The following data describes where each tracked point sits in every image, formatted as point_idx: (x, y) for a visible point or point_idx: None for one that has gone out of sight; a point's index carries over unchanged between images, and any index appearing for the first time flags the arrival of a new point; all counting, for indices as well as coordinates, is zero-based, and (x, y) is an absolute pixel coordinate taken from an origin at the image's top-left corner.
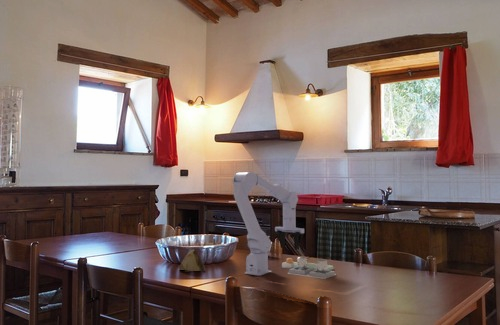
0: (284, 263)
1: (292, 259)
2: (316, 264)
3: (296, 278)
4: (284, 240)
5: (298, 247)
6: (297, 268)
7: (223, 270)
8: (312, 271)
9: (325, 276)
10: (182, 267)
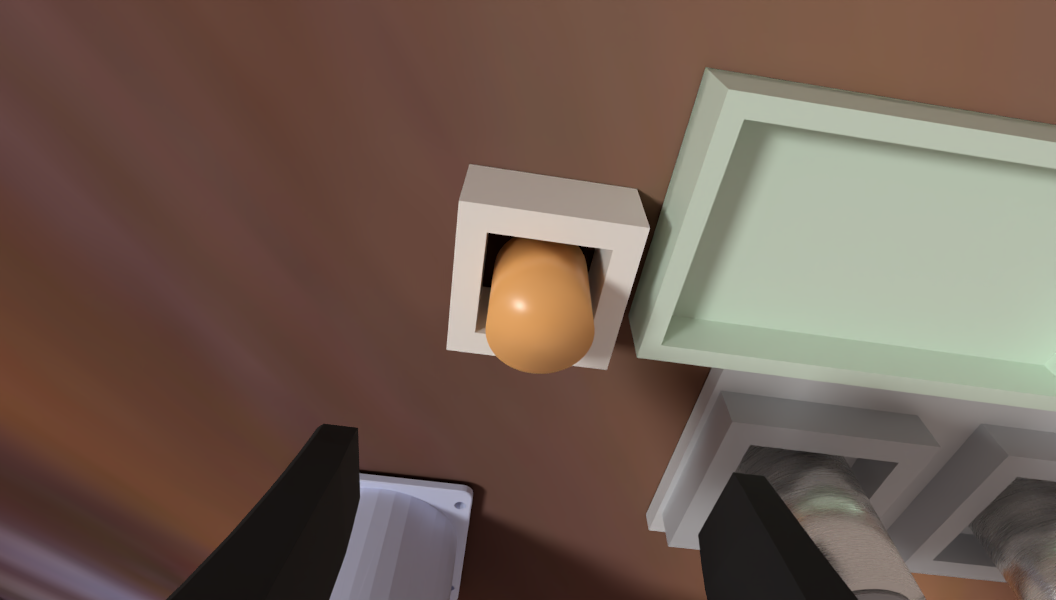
0: (491, 352)
1: (593, 325)
2: (1000, 156)
3: None
4: (276, 594)
5: (781, 506)
6: None
7: (67, 548)
8: (928, 550)
9: None
10: None
